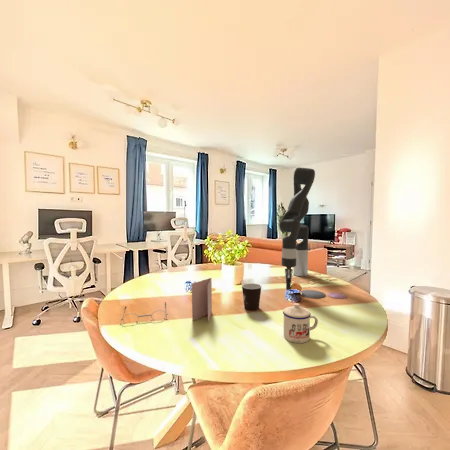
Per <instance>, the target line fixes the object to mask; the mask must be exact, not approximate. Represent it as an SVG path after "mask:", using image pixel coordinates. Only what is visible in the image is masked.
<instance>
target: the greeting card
mask: <svg viewBox="0 0 450 450" xmlns="http://www.w3.org/2000/svg"><path fill="white" fill-rule="evenodd" d="M212 282H213V281H212V277H209V278H206V279H203V280H200V281H196V282H193V283H191V313H192V316H191V317H192V319H191V320H192V322H193V320H194V321H196V320H199V319H200V318H202V317H204V316H207V323H209V322H210V319H211V316H212V312H213V310H212V309H213V307H212V306H213V301H212V299H213V298H212V297H213V294H212V293H213V292H212ZM195 319H196V320H195Z"/></svg>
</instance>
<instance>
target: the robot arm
mask: <svg viewBox="0 0 450 450" xmlns="http://www.w3.org/2000/svg"><path fill="white" fill-rule="evenodd" d="M315 178H316V171H315V169H313V168H310V167H309V168H307V167H295V169H294V171H293V197H292V198H291V200H290V202H289V204H288V207H287V210H286V212H285V213H284V214H283V216H282V217H281V219H280V221H279V223H278V224H279V225H278V226H279V230H280V231H281V232H283V233H290V234H289V235H288V236H284V237H282V244H281V245H282V249H281V266H283V267H286V268H284V278H285V282H286V284H285V285H286V287H285V288H286V291H290V290H291V285H292V279H293V276H296V277H308V276H309V275H308V274H309V273H308V271H309V255H308V254H309V226H308V225H305V224H301V221H302V220H303V219H304V218H305V217H306V216H307V214H308V212H309V205H310V202H309V199H308V197H307V196H308V195H309V192H310V190H311V188H312V186H313V183H314V182H315ZM302 185H303V188H302ZM297 240H302V241H301V242H299V243H297ZM289 289H290V290H289Z"/></svg>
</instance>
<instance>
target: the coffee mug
mask: <svg viewBox="0 0 450 450" xmlns="http://www.w3.org/2000/svg"><path fill="white" fill-rule="evenodd" d="M241 289H242V299H243V306H244V310H245V311H249V312H254V311H258V310H259V309H260V302H261V293H262V285H261V284H259V283H253V282H251V283H249V282H248V283H244V284H241Z"/></svg>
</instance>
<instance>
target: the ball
mask: <svg viewBox="0 0 450 450" xmlns="http://www.w3.org/2000/svg"><path fill="white" fill-rule="evenodd" d="M291 289H297V290H300V291H303V289H302V286H301V284H300V283H298V282H294V283H291ZM291 289H290V290H291Z"/></svg>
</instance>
